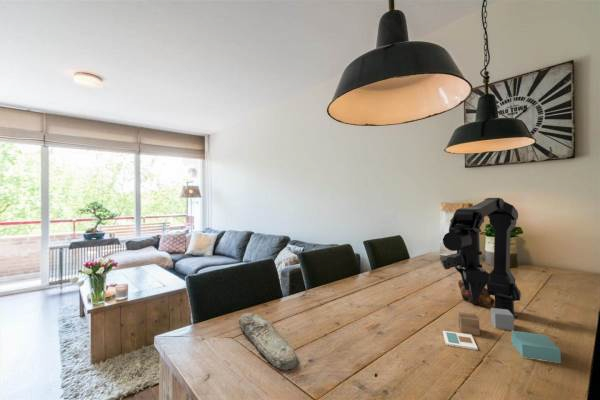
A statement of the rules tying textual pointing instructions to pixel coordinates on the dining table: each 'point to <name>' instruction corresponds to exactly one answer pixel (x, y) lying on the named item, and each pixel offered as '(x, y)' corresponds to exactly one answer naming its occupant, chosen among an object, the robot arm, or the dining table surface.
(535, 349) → the teal base block
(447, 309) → the dining table surface
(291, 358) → the elongated rock
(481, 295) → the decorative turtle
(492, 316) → the slate grey block
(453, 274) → the dining table surface
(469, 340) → the tile
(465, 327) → the walnut block
